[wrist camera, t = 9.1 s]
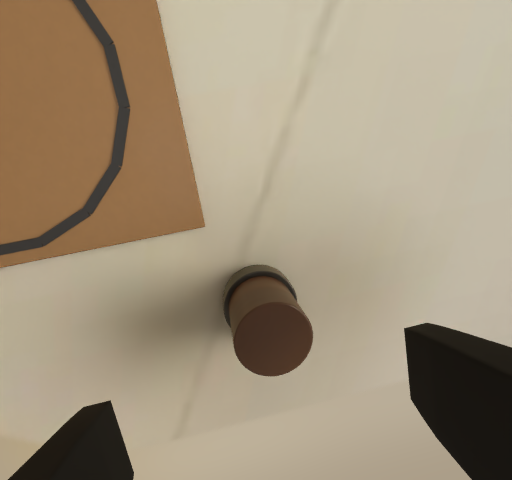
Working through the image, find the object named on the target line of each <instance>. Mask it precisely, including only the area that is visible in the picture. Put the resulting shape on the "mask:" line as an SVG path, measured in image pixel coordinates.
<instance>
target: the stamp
mask: <svg viewBox="0 0 512 480" xmlns="http://www.w3.org/2000/svg"><path fill="white" fill-rule="evenodd" d="M223 308H224V315H225V318H226V321H227V323H228V325H229V326H230V328H231V331H232V337H233V344H234V349H235V353H236V356H237V358H238V359H239V361H240V362H241V363H242V365H243V366H244V367H246V368H247V369H248V370H250V371H251V372H253V373H256V374H258V375H262V376H279V375H283V374H285V373H288V372H290V371H292V370H293V369H295V368H296V367H298V366H299V365H300V364H301V363H302V362H303V361H304V360H305V358H306V357H307V355H308V353H309V351H310V349H311V345H312V340H313V331H312V327H311V323H310V321H309V319H308V318H307V316H306V315H305V313H304V312H303V310H302V309H301V307H300V306H299V304H298V303H297V297H296V293H295V291H294V289H293V287H292V285H291V284H290V282H289V281H288V280H287V278H286V277H285V276H284V275H283V274H282V273H281V272H280V271H278V270H277V269H275V268H273V267H270V266H266V265H253V266H249V267H246V268H244V269H242V270H240V271H238V272H237V273H236V274H235V275H233V276H232V278H231V279H230V280H229V282H228V283H227V285H226V287H225V290H224V293H223Z"/></svg>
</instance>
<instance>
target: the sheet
mask: <svg viewBox="0 0 512 480" xmlns="http://www.w3.org/2000/svg"><path fill="white" fill-rule="evenodd" d="M201 227H205V224H204V219H203V214H202V210H201V205H200V201H199V196H198V191H197V187H196V182H195V177H194V173H193V168H192V164H191V159H190V154H189V150H188V145H187V141H186V136H185V131H184V127H183V122H182V117H181V113H180V108H179V104H178V99H177V94H176V90H175V85H174V80H173V76H172V71H171V67H170V62H169V57H168V53H167V48H166V43H165V39H164V34H163V30H162V25H161V20H160V16H159V11H158V6H157V2H156V0H0V268H1V267H6V266H11V265H16V264H21V263H26V262H31V261H36V260H41V259H46V258H51V257H56V256H61V255H66V254H71V253H76V252H81V251H86V250H91V249H96V248H101V247H106V246H111V245H116V244H121V243H126V242H131V241H136V240H141V239H146V238H151V237H156V236H161V235H166V234H171V233H176V232H181V231H186V230H191V229H196V228H201Z"/></svg>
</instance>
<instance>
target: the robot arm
mask: <svg viewBox="0 0 512 480" xmlns="http://www.w3.org/2000/svg"><path fill="white" fill-rule="evenodd" d="M404 332H405V342H406V353H407V364H408V374H409V385H410V396H411V400H412V401H413V403H414V405H415V406H416V408H417V409H418V411H419V412H420V414H421V416H422V417H423V419H424V420H425V421H426V423H427V424H428V426H429V427H430V429H431V430H432V432H433V433H434V434H435V436H436V438H437V439H438V440H439V441H440V442H441V444H442V445H443V446H444V447H445V448H446V449H447V451H448V452H449V453H450V454H451V456H452V457H453V458H454V459H455V460H456V461H457V463H458V464H459V465H460V466H461V467H462V469H463V470H464V471H465V472H466V473H467V474H468V476H469V477H470V478H471V479H472V480H512V348H511V347H508V346H505V345H502V344H498V343H495V342H492V341H489V340H486V339H483V338H479V337H476V336H473V335H470V334H467V333H463V332H460V331H457V330H453V329H450V328H446V327H443V326H439V325H435V324H430V323H424V324H420V325H416V326H412V327H408V328H404ZM133 476H134V472H133V469H132V465H131V462H130V459H129V456H128V453H127V450H126V447H125V444H124V441H123V438H122V434H121V431H120V428H119V425H118V422H117V419H116V416H115V413H114V410H113V407H112V403H111V400H110V401H106V402H102V403H98V404H94V405H90V406H86V407H83V408H82V409H81V410H80V411H78V412H77V413H76V414H75V415H74V416H73V417H72V418H71V419H70V420H68V421H67V422H66V423H65V424H64V425H63V426H62V427H61V428H60V429H59V430H58V431H57V432H56V433H55V434H54V435H53V436H52V437H51V438H50V439H49V440H48V441H47V442H46V443H45V444H44V445H43V446H42V447H41V448H40V449H39V450H38V451H37V452H36V453H35V454H34V455H33V456H32V457H31V458H30V459H29V460H28V461H27V462H26V463H25V464H24V465H22V467H20V468H19V469H18V471H16V472H15V473H14V474H13V476H11V477H10V478H9V479H8V480H133Z"/></svg>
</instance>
